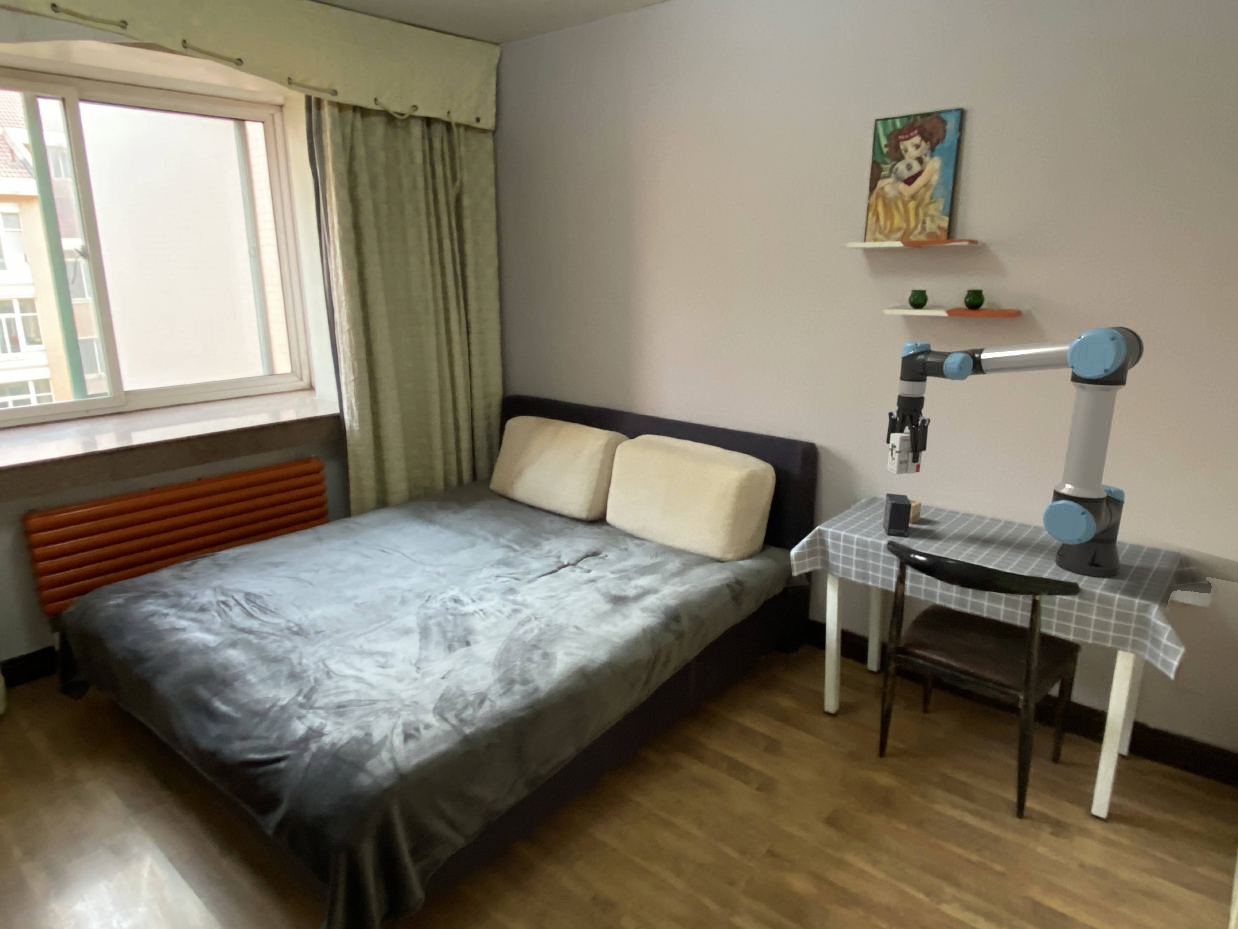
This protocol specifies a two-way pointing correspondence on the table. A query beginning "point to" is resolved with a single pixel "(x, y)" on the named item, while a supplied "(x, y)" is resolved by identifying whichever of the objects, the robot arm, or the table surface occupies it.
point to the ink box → (900, 453)
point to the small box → (897, 515)
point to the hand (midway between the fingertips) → (902, 470)
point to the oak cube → (915, 511)
